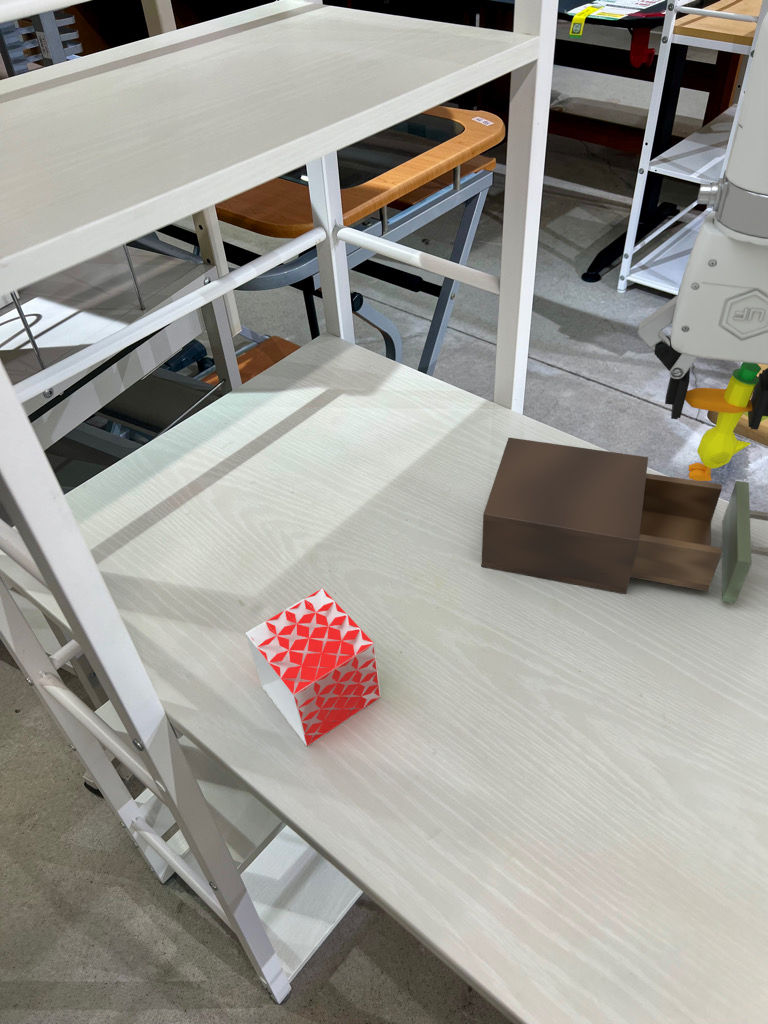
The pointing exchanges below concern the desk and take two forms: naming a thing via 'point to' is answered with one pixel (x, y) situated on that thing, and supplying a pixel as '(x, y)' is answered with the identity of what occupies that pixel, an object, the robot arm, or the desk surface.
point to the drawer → (694, 535)
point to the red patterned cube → (315, 665)
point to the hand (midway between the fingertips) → (714, 413)
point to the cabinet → (565, 514)
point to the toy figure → (722, 419)
